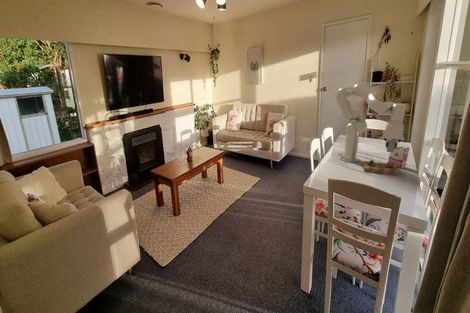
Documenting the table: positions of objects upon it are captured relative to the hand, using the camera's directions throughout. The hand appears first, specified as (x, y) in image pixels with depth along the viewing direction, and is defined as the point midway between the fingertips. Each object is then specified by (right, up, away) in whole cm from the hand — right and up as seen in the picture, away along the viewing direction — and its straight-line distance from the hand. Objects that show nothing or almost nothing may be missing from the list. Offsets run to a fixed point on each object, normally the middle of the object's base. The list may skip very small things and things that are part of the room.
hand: (390, 147), depth 172 cm
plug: (0, -3, +1) cm, 3 cm away
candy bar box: (+15, -14, +17) cm, 26 cm away
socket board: (-1, -16, +11) cm, 20 cm away
